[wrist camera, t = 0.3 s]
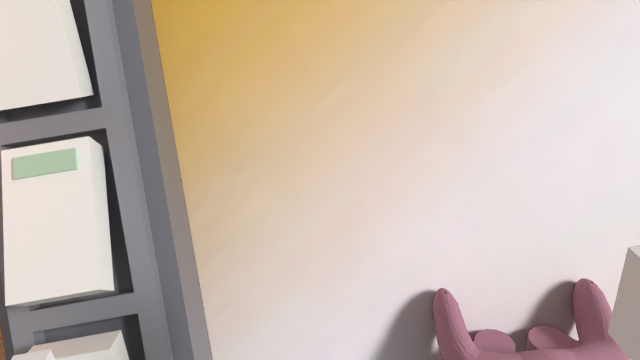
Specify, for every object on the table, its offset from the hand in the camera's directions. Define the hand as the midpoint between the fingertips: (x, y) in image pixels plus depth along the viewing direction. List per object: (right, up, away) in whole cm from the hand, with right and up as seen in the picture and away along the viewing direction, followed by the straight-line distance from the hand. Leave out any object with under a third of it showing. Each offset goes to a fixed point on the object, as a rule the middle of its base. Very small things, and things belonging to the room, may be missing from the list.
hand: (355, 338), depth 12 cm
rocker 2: (-13, +2, +12) cm, 17 cm away
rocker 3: (-14, +11, +12) cm, 21 cm away
